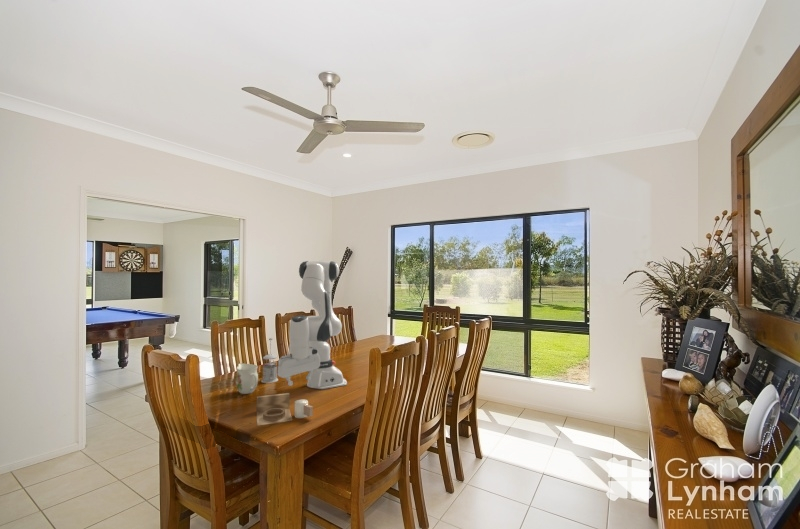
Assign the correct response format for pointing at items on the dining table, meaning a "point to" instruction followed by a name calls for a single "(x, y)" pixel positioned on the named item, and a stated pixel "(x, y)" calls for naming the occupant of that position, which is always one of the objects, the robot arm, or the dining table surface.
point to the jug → (303, 409)
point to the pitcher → (246, 378)
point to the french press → (270, 368)
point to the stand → (273, 409)
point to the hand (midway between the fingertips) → (299, 382)
